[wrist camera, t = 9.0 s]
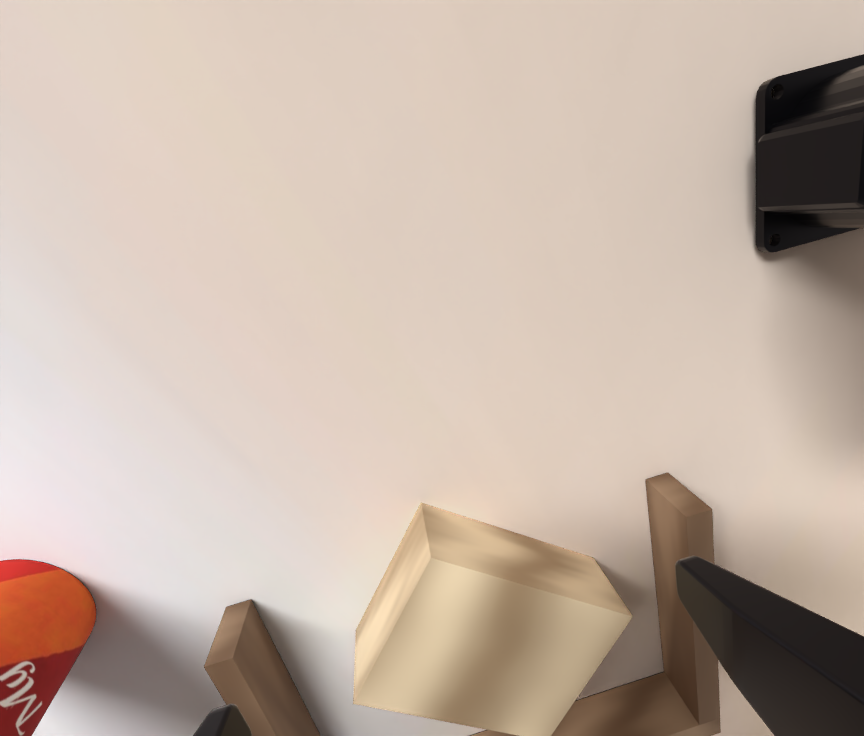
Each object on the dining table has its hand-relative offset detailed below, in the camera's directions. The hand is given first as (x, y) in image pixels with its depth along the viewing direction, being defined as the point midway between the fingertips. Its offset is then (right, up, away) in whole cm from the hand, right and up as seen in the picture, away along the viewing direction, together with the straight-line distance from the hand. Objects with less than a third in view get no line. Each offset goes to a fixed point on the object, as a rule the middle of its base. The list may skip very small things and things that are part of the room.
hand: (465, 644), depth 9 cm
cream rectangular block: (+2, -6, +14) cm, 16 cm away
